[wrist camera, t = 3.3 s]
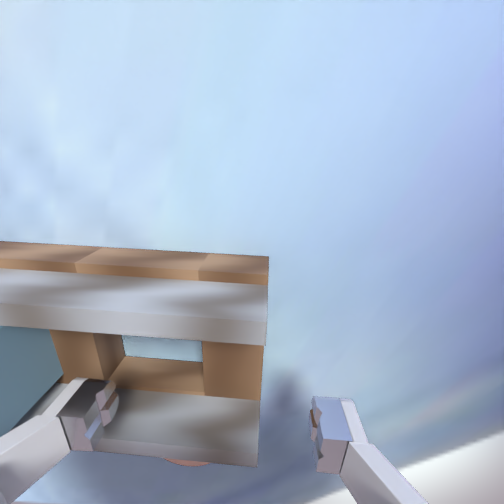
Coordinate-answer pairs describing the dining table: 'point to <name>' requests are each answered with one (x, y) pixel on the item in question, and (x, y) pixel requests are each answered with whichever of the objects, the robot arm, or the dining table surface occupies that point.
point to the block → (24, 371)
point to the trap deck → (150, 325)
